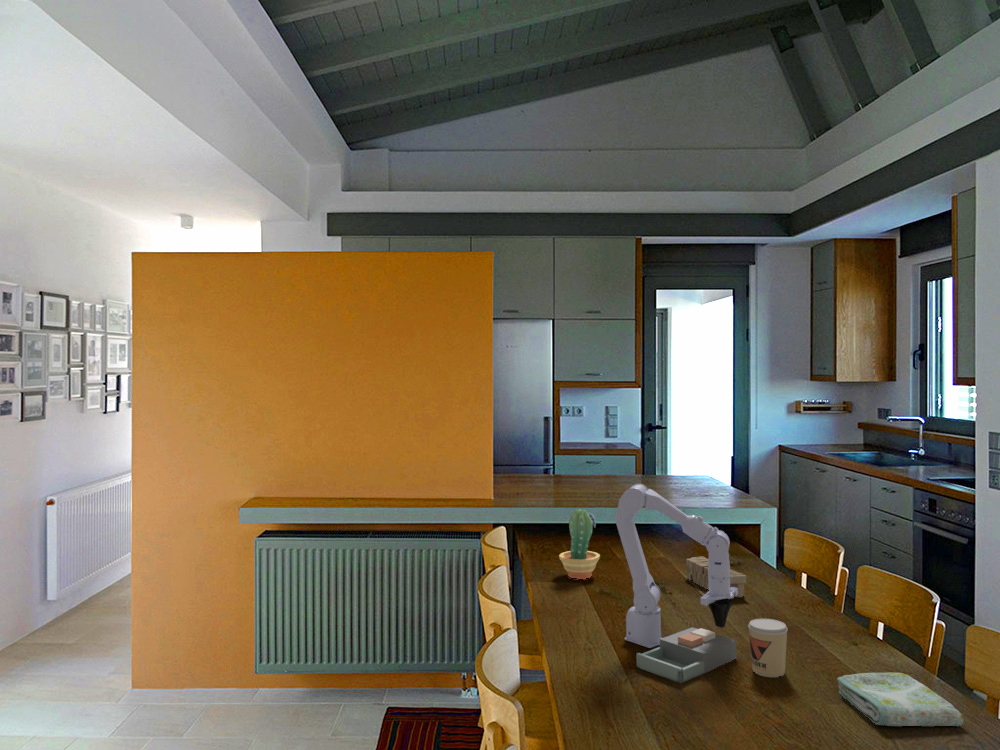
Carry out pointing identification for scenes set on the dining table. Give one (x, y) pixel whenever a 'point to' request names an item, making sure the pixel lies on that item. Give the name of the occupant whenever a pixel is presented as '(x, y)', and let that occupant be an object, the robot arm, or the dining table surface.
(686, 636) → the terracotta tile
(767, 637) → the coffee cup
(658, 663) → the grey-green drawer
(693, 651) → the grey drawer housing
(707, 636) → the cream tile
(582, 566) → the potted cactus
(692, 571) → the block tower
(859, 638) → the dining table surface
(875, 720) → the towel
